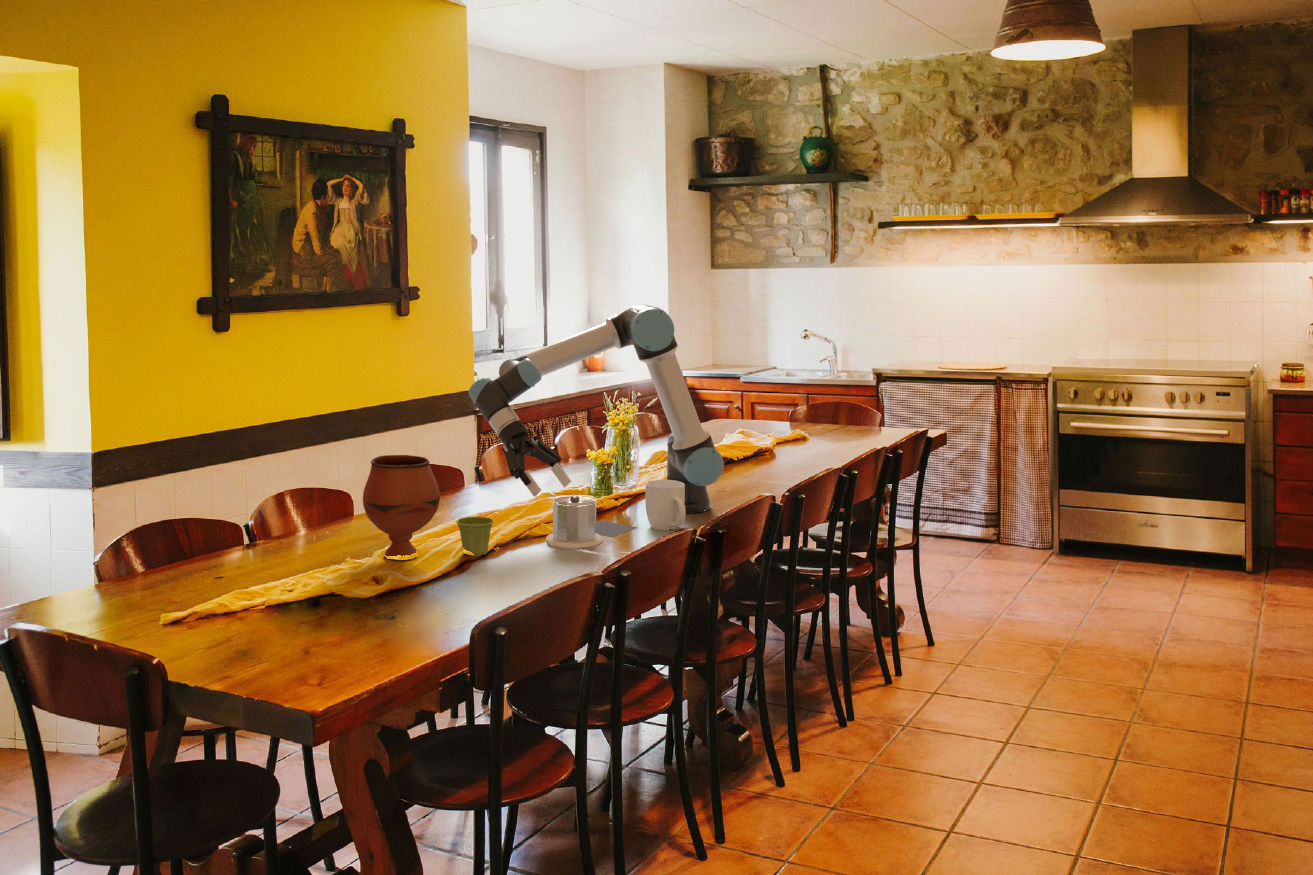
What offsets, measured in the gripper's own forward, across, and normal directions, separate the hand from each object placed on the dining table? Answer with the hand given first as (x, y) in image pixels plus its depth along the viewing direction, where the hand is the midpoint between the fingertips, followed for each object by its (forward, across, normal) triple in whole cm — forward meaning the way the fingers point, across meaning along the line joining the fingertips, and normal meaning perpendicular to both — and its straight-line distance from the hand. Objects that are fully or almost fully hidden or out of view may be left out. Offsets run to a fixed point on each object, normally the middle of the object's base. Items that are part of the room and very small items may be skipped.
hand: (553, 489), depth 310 cm
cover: (+14, 0, -4) cm, 14 cm away
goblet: (-5, +36, -24) cm, 44 cm away
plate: (+14, 0, -5) cm, 15 cm away
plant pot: (+5, +24, -15) cm, 28 cm away
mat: (+15, -15, -5) cm, 22 cm away
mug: (+24, -26, +4) cm, 36 cm away
